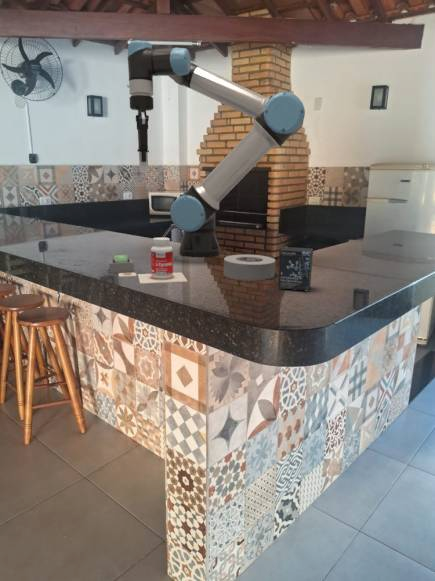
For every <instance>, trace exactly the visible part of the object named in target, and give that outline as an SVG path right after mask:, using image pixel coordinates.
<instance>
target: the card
mask: <svg viewBox="0 0 435 581" xmlns="http://www.w3.org/2000/svg"><path fill="white" fill-rule="evenodd" d="M126 277H127V278H129V277H130V278H131V277H132V278H133V277H135V278H136V277H137V273H136V272H134V273H118V278H126Z"/></svg>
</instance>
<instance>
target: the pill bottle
mask: <svg viewBox="0 0 435 581" xmlns="http://www.w3.org/2000/svg"><path fill="white" fill-rule="evenodd" d="M152 243H153V246H152V247H150V268H151V269H150V271H151V272H150V274H151V276H152V277H153V278H156V279H168V278H171V277H172V276H173V273H174V252H173V250H174V249H173V247H172V246H171V245H170V244H171V238H169V237H153V238H152Z"/></svg>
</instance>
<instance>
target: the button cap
mask: <svg viewBox="0 0 435 581" xmlns="http://www.w3.org/2000/svg"><path fill="white" fill-rule="evenodd" d="M128 256H129V255H128V254H117V255H116V254H115V255H114V257H113V258H114V261H115V263H123V262H128V259H129V257H128Z"/></svg>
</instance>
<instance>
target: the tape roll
mask: <svg viewBox="0 0 435 581" xmlns="http://www.w3.org/2000/svg"><path fill="white" fill-rule="evenodd" d="M223 276H224V277H226V278H228V279H231V280H237V281H246V282H247V281H248V282H249V281H250V282H251V281H252V282H253V281H254V282H255V281H256V282H259V281H266V279H268V280H271V279H273V278H275V276H276V259H275V258H274V257H270V256H266V255H260V254H259V255H258V254H233V255H227V256H225V257H224V258H223ZM270 278H271V279H270Z"/></svg>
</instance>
